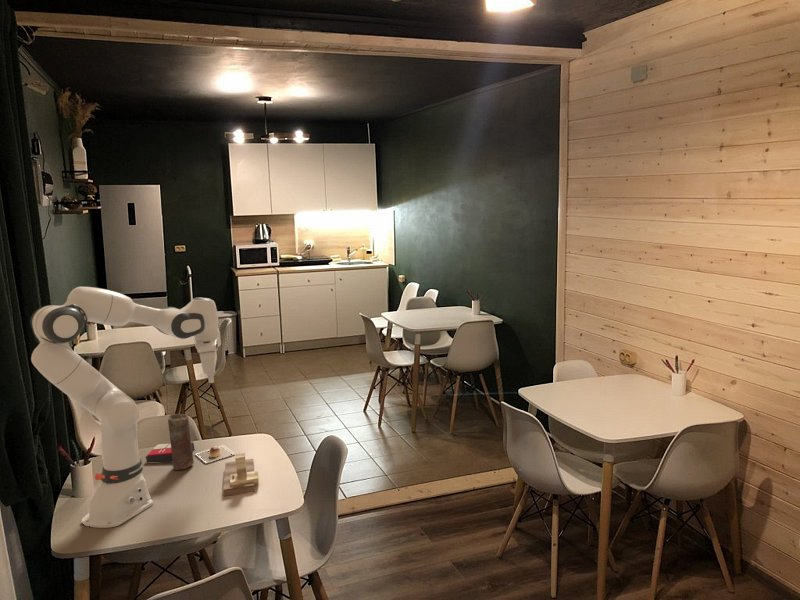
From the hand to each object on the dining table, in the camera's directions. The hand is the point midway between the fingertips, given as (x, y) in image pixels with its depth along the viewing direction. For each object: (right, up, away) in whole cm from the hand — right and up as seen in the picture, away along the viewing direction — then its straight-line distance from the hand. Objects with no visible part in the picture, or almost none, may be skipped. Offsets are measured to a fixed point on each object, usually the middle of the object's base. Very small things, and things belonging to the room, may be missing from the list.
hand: (212, 378), depth 228 cm
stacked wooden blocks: (+14, -35, -11) cm, 39 cm away
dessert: (-4, -33, +17) cm, 37 cm away
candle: (-13, -34, +8) cm, 38 cm away
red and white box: (-22, -33, +19) cm, 44 cm away
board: (+11, -35, -5) cm, 37 cm away
